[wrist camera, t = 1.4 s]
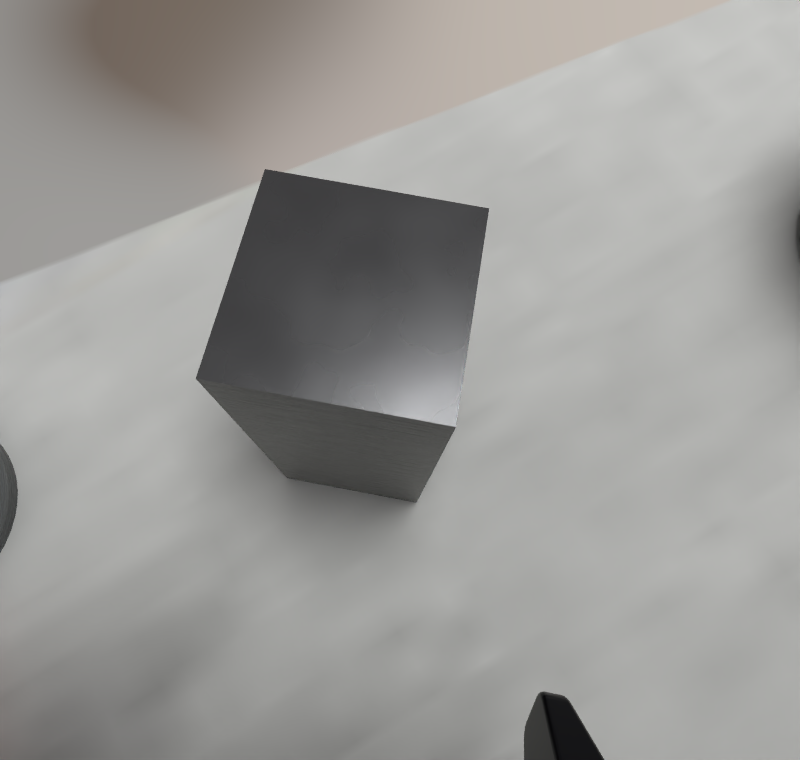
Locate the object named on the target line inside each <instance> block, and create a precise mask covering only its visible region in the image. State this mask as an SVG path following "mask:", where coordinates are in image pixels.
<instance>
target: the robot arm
mask: <svg viewBox="0 0 800 760" xmlns="http://www.w3.org/2000/svg"><path fill="white" fill-rule="evenodd" d="M524 760H604V758H603V757H602V755H601V753H600V752H599V750H598V748H597V747H596V745H595V743H594V742H593V740H592V738H591V737H590V735H589V733H588V732H587V730H586V728H585V726H584V725H583V723H582V721H581V720H580V718H579V716H578V715H577V713H576V711H575V710H574V708H573V706H572V705H571V703H570V701H569V700H568V699H567V698H566V697H565V696H562V695H558V694H553V693H548V692H540V693H539V694H538V696H537V697H536V700H535V702H534V705H533V707H532V710H531V712H530V715H529V717H528V720H527V722H526V726H525V732H524Z"/></svg>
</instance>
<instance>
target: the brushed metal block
mask: <svg viewBox="0 0 800 760" xmlns="http://www.w3.org/2000/svg"><path fill="white" fill-rule="evenodd" d="M488 212H489V208H483V207H477V206H472V205H466V204H460V203H455V202H449V201H443V200H438V199H432V198H426V197H420V196H415V195H409V194H403V193H398V192H392V191H386V190H381V189H375V188H369V187H363V186H358V185H352V184H346V183H341V182H335V181H329V180H324V179H318V178H312V177H306V176H301V175H295V174H289V173H284V172H278V171H272V170H266V169H265V171H264V174H263V177H262V180H261V183H260V186H259V189H258V192H257V195H256V198H255V201H254V204H253V207H252V210H251V213H250V216H249V219H248V222H247V225H246V228H245V231H244V234H243V237H242V240H241V244H240V247H239V250H238V253H237V256H236V259H235V262H234V265H233V268H232V271H231V274H230V277H229V280H228V283H227V286H226V289H225V292H224V295H223V298H222V301H221V304H220V307H219V310H218V313H217V316H216V319H215V322H214V325H213V328H212V331H211V334H210V337H209V340H208V343H207V346H206V349H205V352H204V355H203V359H202V362H201V365H200V368H199V371H198V374H197V377H196V379H197V380H198V381H199V383H200V384H201V385H202V386H203V387H204V388H205V389H206V390H207V391H208V392H209V393H210V395H211V396H212V397H213V398H214V399H215V400H216V401H217V402H218V403H219V404H220V405H221V406H222V408H223V409H224V410H225V411H226V412H227V413H228V414H229V415H230V416H231V417H232V418H233V419H234V421H235V422H236V423H237V424H238V425H239V426H240V427H241V428H242V429H243V430H244V431H245V433H246V434H247V435H248V436H249V437H250V438H251V439H252V440H253V441H254V442H255V443H256V444H257V446H258V447H259V448H260V449H261V450H262V451H263V452H264V453H265V454H266V455H267V456H268V457H269V459H270V460H271V461H272V462H273V463H274V464H275V465H276V466H277V467H278V468H279V469H280V471H281V472H282V473H283V474H284V475H285V476H286V477H287V478H291V479H296V480H302V481H307V482H312V483H317V484H323V485H328V486H333V487H338V488H344V489H349V490H354V491H359V492H365V493H370V494H375V495H381V496H386V497H391V498H396V499H402V500H407V501H412V502H417V500H418V499H419V497H420V495H421V493H422V491H423V489H424V487H425V485H426V483H427V481H428V479H429V478H430V476H431V474H432V472H433V470H434V468H435V466H436V464H437V462H438V460H439V458H440V456H441V455H442V453H443V451H444V449H445V447H446V445H447V443H448V441H449V439H450V437H451V435H452V434H453V432H454V430H455V428H456V423H457V417H458V410H459V403H460V397H461V390H462V384H463V377H464V370H465V364H466V357H467V350H468V344H469V337H470V331H471V324H472V317H473V311H474V304H475V298H476V291H477V284H478V278H479V271H480V265H481V258H482V251H483V245H484V238H485V232H486V225H487V218H488Z"/></svg>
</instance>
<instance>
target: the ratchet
mask: <svg viewBox="0 0 800 760" xmlns="http://www.w3.org/2000/svg"><path fill="white" fill-rule="evenodd" d="M17 494H18V489H17V480H16V475H15V471H14V468H13V465H12V463H11V460H10V458H9V456H8V454H7V453H6V451H5V450H4V448H3V447H2V446H1V445H0V552H1V550H2V549H3V547H4V545H5V543H6V541H7V539H8V536H9V534H10V531H11V529H12V525H13V522H14V518H15V514H16V508H17Z"/></svg>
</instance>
